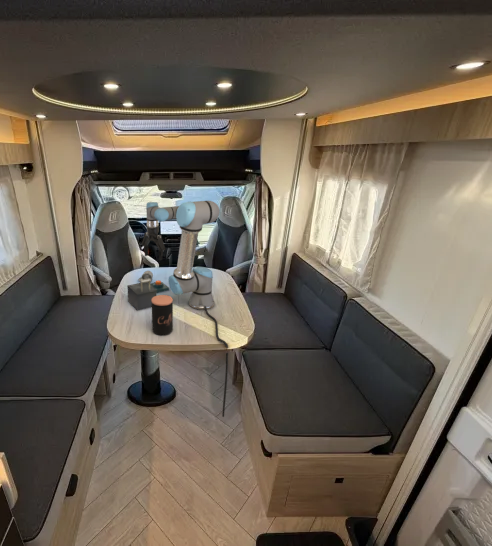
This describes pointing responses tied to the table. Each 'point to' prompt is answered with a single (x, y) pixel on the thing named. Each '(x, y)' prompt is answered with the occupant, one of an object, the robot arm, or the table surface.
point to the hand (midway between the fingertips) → (153, 257)
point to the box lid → (142, 287)
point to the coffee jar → (162, 314)
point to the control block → (160, 287)
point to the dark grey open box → (140, 300)
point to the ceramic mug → (146, 276)
